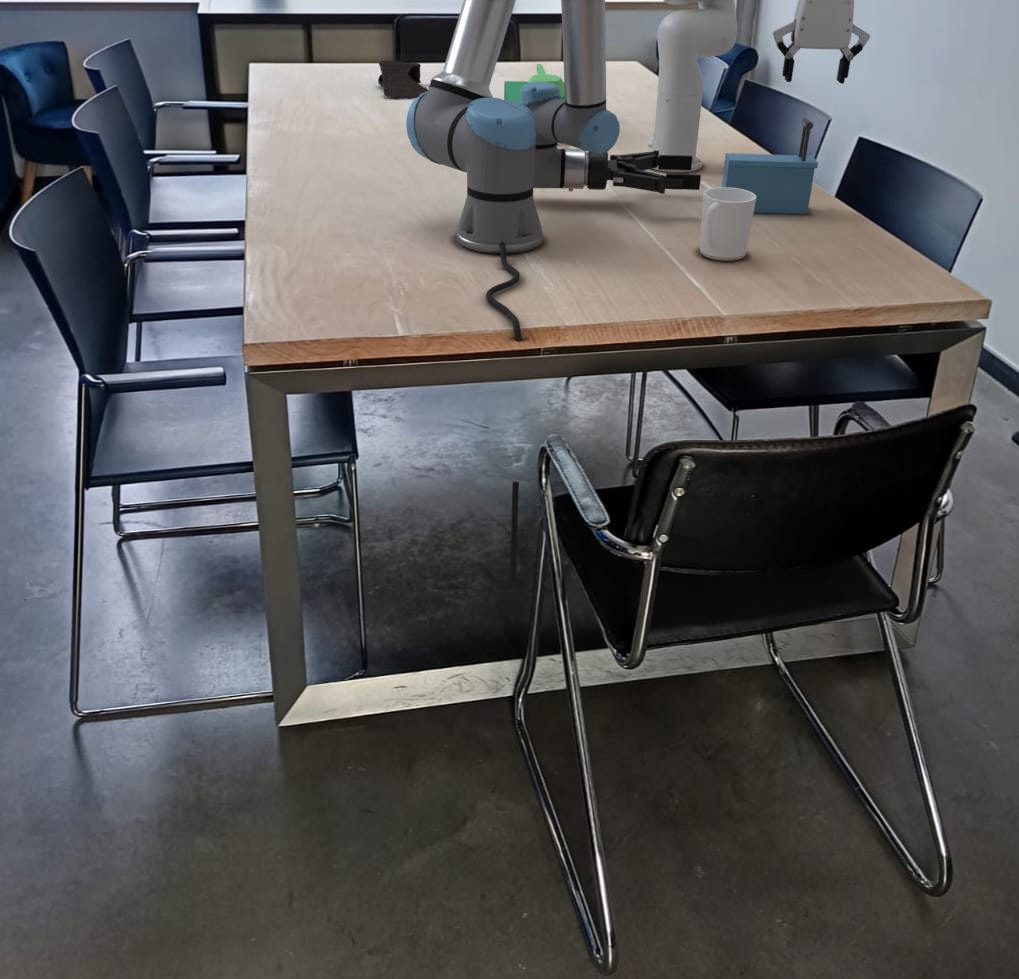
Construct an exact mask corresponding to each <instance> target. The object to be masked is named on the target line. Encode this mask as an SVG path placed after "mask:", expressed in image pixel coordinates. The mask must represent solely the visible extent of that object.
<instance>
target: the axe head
mask: <svg viewBox="0 0 1019 979" xmlns="http://www.w3.org/2000/svg"><path fill="white" fill-rule="evenodd" d="M378 66H379V68H380V72H381V74H379V75H378V79H377V84H378V85H379V86H380V87H381V88H382V89H383V95H384V96H385V97H388V98H394V99H395V98H396V99H403V98H405V99H406V98H407V99H411V98H418V97H419V95H420V94H422V93H424V92H427V91H428V89H429V88H427V87H425V86H422V85H421V84H422V82H421V63H419V62H410V61H408V62H407V61H397V60H388V59H387V60H380V61H379V62H378Z"/></svg>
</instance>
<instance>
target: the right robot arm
mask: <svg viewBox="0 0 1019 979" xmlns="http://www.w3.org/2000/svg"><path fill="white" fill-rule="evenodd" d="M662 1H663V2H664V3H666V4H669V5H689V4H690V5H691V4H698V8H692V9H691V8H690V9H682V10H677V11H674V12H671V13H669V14H667V15H666V16H665V17H664V18H663V19H662V20H661V22H660V23H659V26H658V29H657V39H656V40H657V51H658V81H657V94H656V107H655V117H654V118H655V120H654V129H653V130H654V131H653V139H652V140H649V141H648V143H647V146H648V148H651V151H652V152H654V150H658V151H659V155H682V156H692V166H691V170H659V169H658V167H657V168H653V169H652V170H655V171H659V172H665V173H666V172H667V173H690V172H695V171H698V170H700V169H701V168H702V167H703V160H702V159H701V158H700V157H698V156H697V149H698V148H697V147H698V139H699V129H700V120H701V111H702V103H703V94H704V93H703V92H704V76H703V73H702V70H701V67H700V65H699V61H698V59H705V58H713V57H720V56H724V55H726V54H728V53H729V52H730V51H731V50H732V49H733V48H734V46H735V44H736V41H737V38H738V19H737V10H736V2H735V0H662ZM854 14H855V0H797V4H796V7H795V11H794V16H793V21H791V22H790V23H788V24H785V25H784V26H782V27H779V28H778V29H775V30H774V31H773V32H772V36H773V39H774V42H775V45H776V48H777V49H778V50H779V51H780V52H781V54H782V55H783V57H784V59H783V67H782V72H781V73H782V74H781V75H782V77H784V80H785V82H787V83H791V82H792V80H793V74H794V69H795V68H794V66H795V59H794V56H795V55H796V54H797V53H798V52H799V51H800V50H801V49H807V50H839V51H840V53H841V54H842V56H841V57H840V58H839V62H838V63H839V64H838V69H837V73H836V74H837V75H836V81H837V82H838V83H839V84H841V85H843V84H845V81H846V79H848V77H849V72H850V66H851V61H853V60H854V58H855V57H856V56H857V55H858V54H860V53H861V52H862V51H863V50H864V47H865V46H866V44H867V43H868V41H869V40H870V38H871V35H870V34H869V33H868V32H866V31H865V30H864V29H861V28H860V27H858V26H857V25H855V24H854ZM787 34H790V41H791V43H790V44H789V45H788V46H787V45H786V44H785V42H784V39H783V38H784V36H786V35H787ZM852 34H854V35H855V36H857V37H858V40H857V41H856V43H855V44H854V45H852V47H849V46H850V43H851V40H852Z"/></svg>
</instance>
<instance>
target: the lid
mask: <svg viewBox="0 0 1019 979" xmlns="http://www.w3.org/2000/svg"><path fill="white" fill-rule="evenodd" d="M801 124H802V129H801V130H802V131H801V137H800V143H799V150H798V155H797V154H796V155H795V154H793V155H792V154H767V153H766V154H763V153H762V154H761V153H734V152H733V153H730V152H726V153H725V154H724V155H725V156H724V160H725V159H726V161H727V163H728V165H729V166H756V167H788V168H815V169H818V166H819V161H817V159H816V158H815V157H814V156H813V155H807V154H808V146H809V142H810V141H809V140H810V135H811V130H812V129H813V128H814V123H813V122H812V121H811V119H810V118H809V117H802V119H801Z"/></svg>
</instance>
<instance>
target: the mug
mask: <svg viewBox="0 0 1019 979" xmlns="http://www.w3.org/2000/svg"><path fill="white" fill-rule="evenodd" d="M755 202H756V195H755V194H754V193H752V192H750V191H747V190H744V189H739V188H730V187H722V186H721V187H720V186H719V187H711V188H708V189H706V190H704V191H703V194H702V210H701V225H700V240H699V252H700V254H701V255H702V256H704V257H706V258H709V259H711V260H716V261H727V262H728V261H729V262H731V261H736V260H737V261H738V260H741V259H744V257H745V256H746V254H747V249H748V244H749V239H750V234H751V229H752V223H753V218H754V214H755V213H754V207H755Z"/></svg>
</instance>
